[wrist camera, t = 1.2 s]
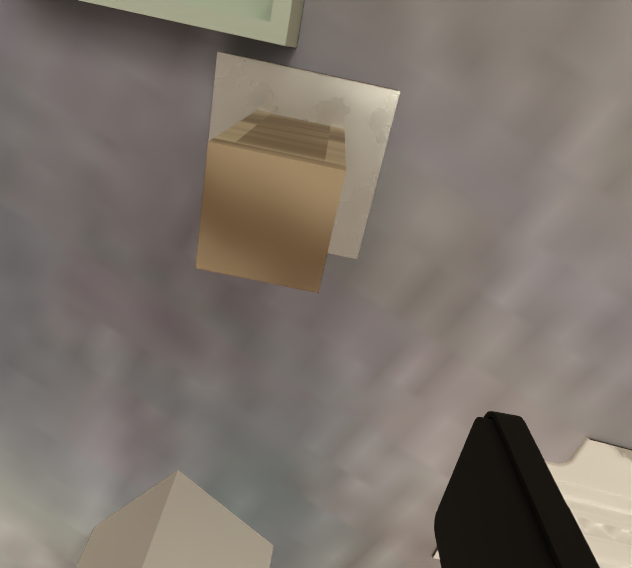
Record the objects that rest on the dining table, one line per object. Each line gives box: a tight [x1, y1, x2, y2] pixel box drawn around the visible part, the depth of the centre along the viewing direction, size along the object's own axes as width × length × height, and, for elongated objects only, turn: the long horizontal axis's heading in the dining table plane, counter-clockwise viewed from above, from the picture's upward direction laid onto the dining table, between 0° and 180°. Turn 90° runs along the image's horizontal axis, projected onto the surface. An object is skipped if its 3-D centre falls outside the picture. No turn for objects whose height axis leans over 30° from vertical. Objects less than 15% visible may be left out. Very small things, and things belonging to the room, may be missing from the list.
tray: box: [432, 436, 632, 568], centre depth 42 cm, size 20×28×4 cm
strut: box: [196, 111, 346, 293], centre depth 23 cm, size 5×5×11 cm
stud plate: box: [208, 52, 400, 259], centre depth 26 cm, size 10×10×6 cm
